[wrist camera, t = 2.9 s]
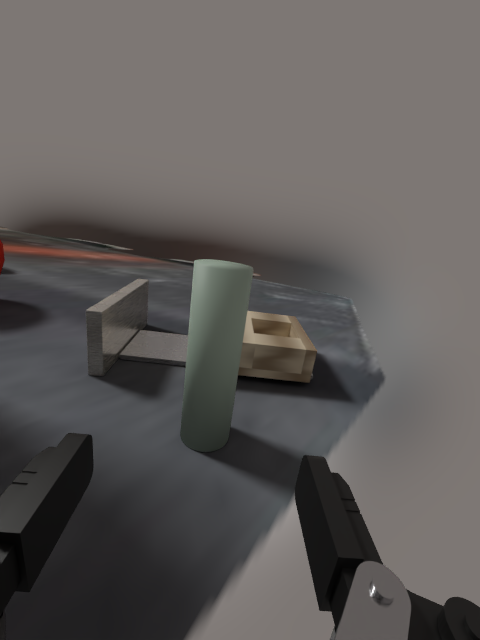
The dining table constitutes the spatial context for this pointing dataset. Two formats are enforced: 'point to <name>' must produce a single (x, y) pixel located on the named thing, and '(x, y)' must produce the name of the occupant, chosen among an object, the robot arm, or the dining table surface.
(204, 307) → the dowel
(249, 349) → the socket block
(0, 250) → the apple
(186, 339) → the rail base
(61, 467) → the robot arm
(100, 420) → the dining table surface
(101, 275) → the dining table surface
